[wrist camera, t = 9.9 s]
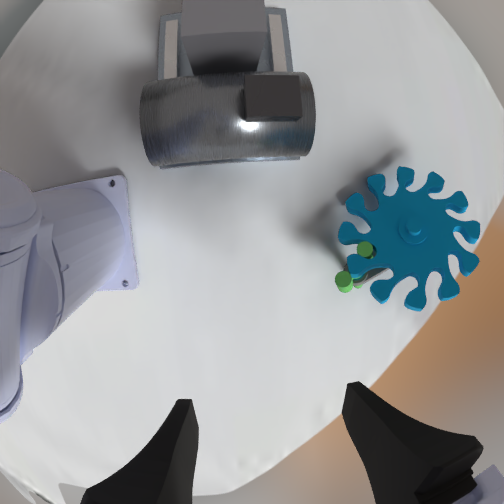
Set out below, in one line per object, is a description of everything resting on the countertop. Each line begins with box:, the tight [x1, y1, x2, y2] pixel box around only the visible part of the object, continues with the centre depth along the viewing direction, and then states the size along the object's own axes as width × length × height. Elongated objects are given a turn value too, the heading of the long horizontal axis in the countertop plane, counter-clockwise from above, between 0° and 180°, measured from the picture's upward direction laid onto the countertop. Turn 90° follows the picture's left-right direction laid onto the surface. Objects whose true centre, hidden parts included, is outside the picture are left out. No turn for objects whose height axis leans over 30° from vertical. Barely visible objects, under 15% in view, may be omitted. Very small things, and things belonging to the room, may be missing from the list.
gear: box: [335, 166, 480, 311], centre depth 18 cm, size 11×6×10 cm
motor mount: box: [140, 8, 316, 169], centre depth 13 cm, size 9×12×7 cm
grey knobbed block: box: [181, 0, 267, 75], centre depth 12 cm, size 4×5×6 cm
